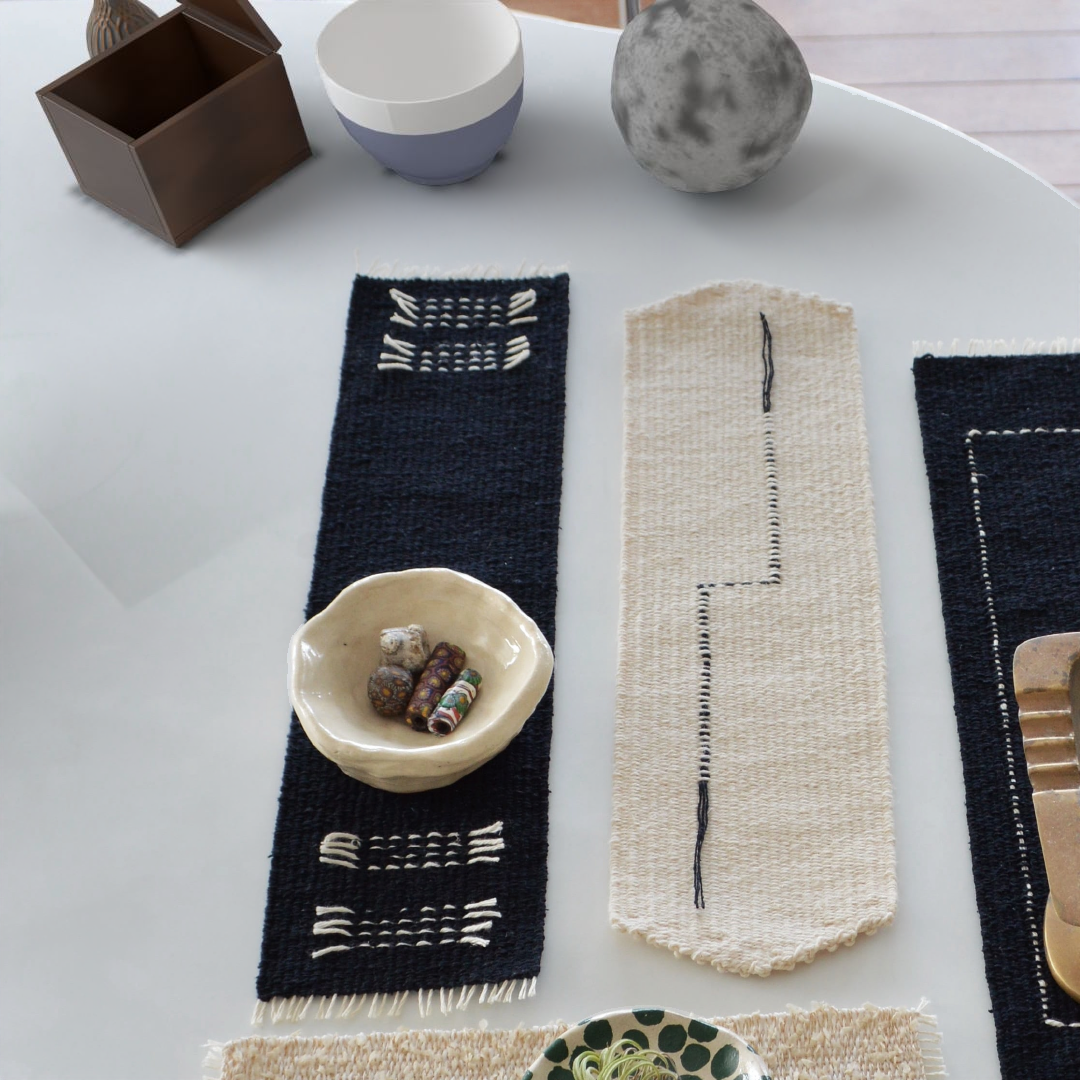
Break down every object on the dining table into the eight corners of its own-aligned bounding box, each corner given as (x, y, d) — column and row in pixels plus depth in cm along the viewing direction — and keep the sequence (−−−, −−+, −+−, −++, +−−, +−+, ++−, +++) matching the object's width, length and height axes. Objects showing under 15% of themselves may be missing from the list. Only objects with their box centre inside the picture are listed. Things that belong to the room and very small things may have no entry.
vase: (93, 89, 125) (49, -11, 117) (163, 57, 127) (125, -43, 120) (133, 125, 122) (91, 25, 114) (204, 92, 124) (168, -8, 117)
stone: (653, 109, 123) (638, -70, 110) (830, 139, 120) (835, -40, 108) (595, 219, 115) (572, 40, 102) (782, 254, 113) (782, 75, 100)
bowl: (559, 102, 123) (544, -8, 115) (509, 222, 115) (489, 113, 107) (381, 83, 125) (353, -27, 117) (319, 201, 117) (284, 91, 108)
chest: (177, 248, 114) (134, 148, 106) (82, 191, 117) (34, 91, 110) (313, 154, 120) (281, 54, 112) (218, 103, 123) (182, 3, 116)
